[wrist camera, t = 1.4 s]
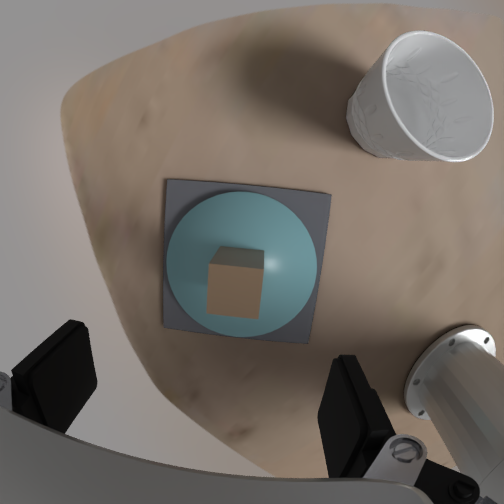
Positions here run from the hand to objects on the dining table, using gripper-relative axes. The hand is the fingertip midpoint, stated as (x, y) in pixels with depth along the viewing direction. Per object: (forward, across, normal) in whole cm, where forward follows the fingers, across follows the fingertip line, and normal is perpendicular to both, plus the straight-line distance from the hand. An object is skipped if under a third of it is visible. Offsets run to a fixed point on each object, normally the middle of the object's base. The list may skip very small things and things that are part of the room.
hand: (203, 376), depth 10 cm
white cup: (+16, -11, -13) cm, 23 cm away
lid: (+15, 0, 0) cm, 15 cm away
